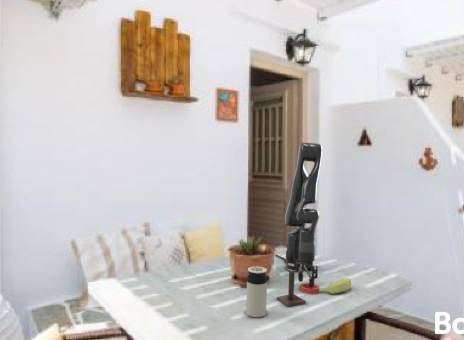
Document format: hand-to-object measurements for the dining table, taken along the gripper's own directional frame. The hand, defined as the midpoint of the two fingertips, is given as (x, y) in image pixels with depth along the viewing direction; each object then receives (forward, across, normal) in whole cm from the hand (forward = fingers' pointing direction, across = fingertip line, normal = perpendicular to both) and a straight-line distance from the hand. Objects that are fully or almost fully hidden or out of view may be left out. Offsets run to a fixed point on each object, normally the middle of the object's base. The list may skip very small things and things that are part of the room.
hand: (305, 283), depth 185 cm
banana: (+2, -7, -12) cm, 14 cm away
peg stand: (+2, -11, +16) cm, 20 cm away
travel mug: (+3, -16, +36) cm, 40 cm away
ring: (+2, -3, 0) cm, 4 cm away
